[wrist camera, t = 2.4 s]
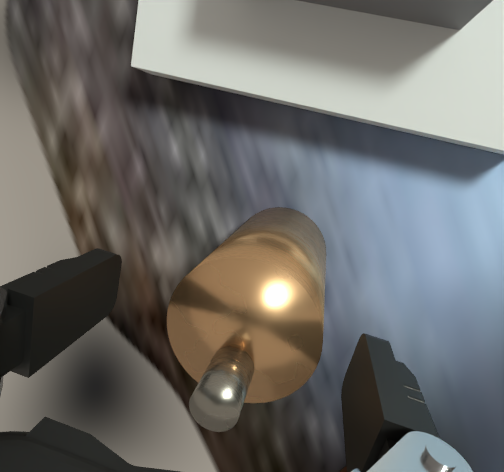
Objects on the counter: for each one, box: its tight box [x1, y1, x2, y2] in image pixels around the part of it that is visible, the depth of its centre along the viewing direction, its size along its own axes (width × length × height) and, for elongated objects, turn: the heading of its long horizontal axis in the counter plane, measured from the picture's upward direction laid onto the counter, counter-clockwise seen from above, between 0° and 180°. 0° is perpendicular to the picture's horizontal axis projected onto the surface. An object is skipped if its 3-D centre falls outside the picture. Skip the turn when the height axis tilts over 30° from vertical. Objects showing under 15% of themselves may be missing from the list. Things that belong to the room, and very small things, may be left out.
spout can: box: [167, 207, 326, 432], centre depth 14 cm, size 5×5×11 cm
